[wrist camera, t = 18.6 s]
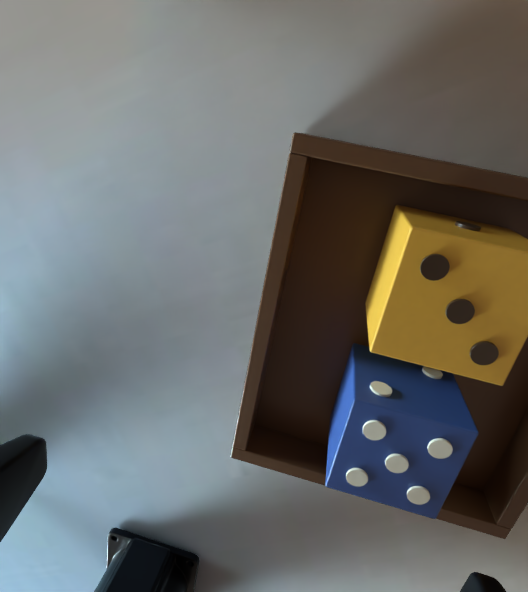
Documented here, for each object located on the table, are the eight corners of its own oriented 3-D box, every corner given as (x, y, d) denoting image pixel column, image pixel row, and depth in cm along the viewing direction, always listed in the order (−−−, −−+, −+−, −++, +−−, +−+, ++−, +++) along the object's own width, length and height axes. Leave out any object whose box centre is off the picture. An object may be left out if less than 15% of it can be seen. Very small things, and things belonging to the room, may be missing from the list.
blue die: (418, 442, 20) (436, 523, 16) (329, 417, 21) (324, 489, 16) (451, 364, 18) (482, 432, 14) (353, 339, 19) (354, 398, 15)
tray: (488, 494, 21) (505, 539, 19) (242, 424, 23) (230, 457, 20) (650, 202, 15) (707, 213, 13) (301, 133, 17) (293, 132, 14)
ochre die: (467, 328, 17) (504, 389, 13) (364, 303, 18) (368, 354, 14) (511, 225, 16) (571, 257, 11) (396, 201, 16) (412, 223, 12)
